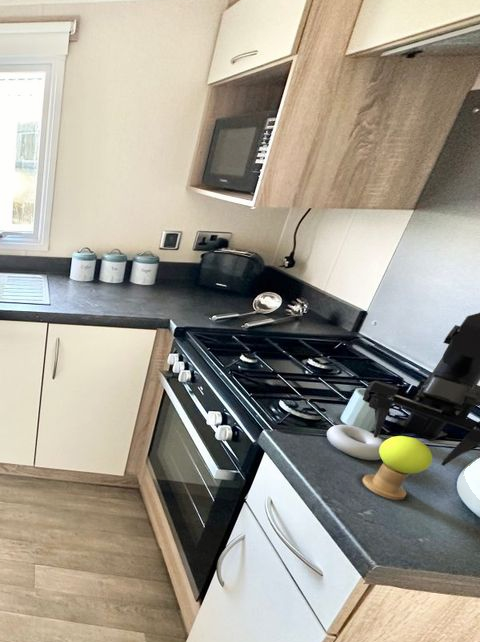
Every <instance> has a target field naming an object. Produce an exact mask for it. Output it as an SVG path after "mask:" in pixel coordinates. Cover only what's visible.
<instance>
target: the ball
mask: <svg viewBox="0 0 480 642" xmlns="http://www.w3.org/2000/svg"><path fill="white" fill-rule="evenodd" d="M383 441H384V442H383V443H382V444H381V446H380V449H379V453H380V457H381V459H380V460H382V462H383V463H385V464H386V465H387V466H389V467H390V468H392V469H394V470H396V471H399V472H403V473H409V474H417V473H418V474H419V473H421V472H423V471H425V470H427V469H428V468H429V467H430V466H431V464H432V462H433V454H432V452H431V449H430V448H429V447H428V446H427V445H426V444H425V443H424V442H422V441H421V440H419V439H417V438H415V437H411V436H407V435H406V436H405V435H396V436H392V437H389V438H387V439H385V440H383Z"/></svg>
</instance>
